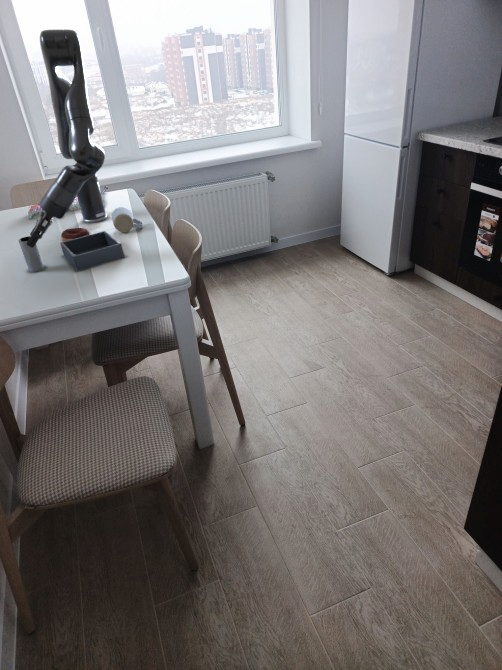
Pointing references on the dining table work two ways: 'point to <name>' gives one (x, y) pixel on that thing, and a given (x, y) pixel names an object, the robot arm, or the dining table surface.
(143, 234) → the dining table surface
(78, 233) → the donut
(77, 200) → the multicolour bumpy slab
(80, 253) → the dark grey open tray
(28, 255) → the white and black tumbler
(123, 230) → the ceramic mug
